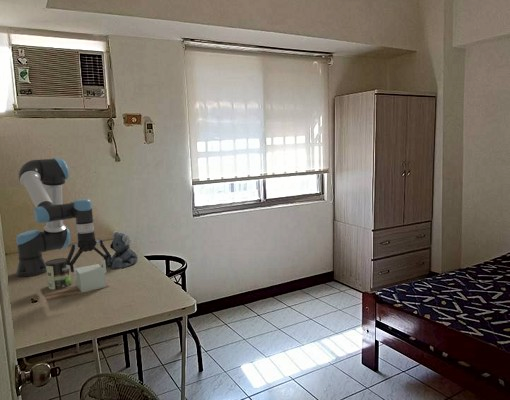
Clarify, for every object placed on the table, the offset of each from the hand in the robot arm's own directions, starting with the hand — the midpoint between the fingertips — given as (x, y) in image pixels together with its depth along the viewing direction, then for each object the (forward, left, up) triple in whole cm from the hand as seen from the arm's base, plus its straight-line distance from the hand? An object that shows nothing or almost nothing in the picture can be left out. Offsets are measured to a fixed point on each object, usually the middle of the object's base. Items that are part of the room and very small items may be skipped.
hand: (90, 275), depth 195 cm
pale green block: (0, 0, -6) cm, 6 cm away
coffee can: (-13, -12, -8) cm, 19 cm away
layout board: (0, -7, -7) cm, 10 cm away
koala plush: (-34, +25, -8) cm, 43 cm away
